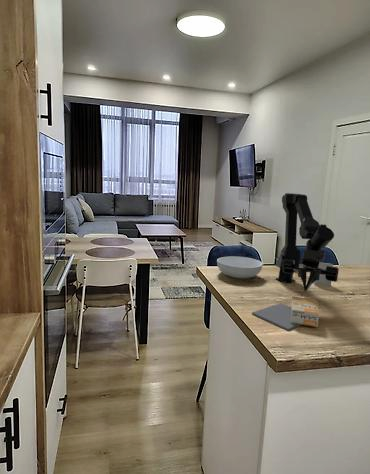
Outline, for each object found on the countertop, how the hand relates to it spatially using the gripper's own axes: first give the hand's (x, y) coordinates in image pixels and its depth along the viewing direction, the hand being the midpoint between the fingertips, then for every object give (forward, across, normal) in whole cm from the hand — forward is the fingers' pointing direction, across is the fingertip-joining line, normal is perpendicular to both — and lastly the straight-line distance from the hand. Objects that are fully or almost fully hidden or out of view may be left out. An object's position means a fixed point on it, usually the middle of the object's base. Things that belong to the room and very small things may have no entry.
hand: (305, 290), depth 114 cm
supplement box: (+3, 0, +3) cm, 5 cm away
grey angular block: (-21, +4, +32) cm, 39 cm away
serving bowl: (-14, -32, +26) cm, 43 cm away
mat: (+11, -5, 0) cm, 12 cm away
